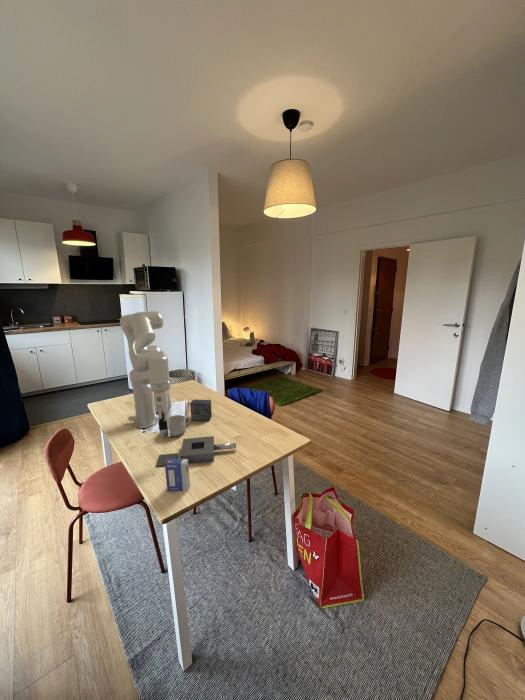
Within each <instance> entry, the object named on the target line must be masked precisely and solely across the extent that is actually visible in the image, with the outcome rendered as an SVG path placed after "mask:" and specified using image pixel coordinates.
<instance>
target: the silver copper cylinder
mask: <svg viewBox="0 0 525 700" xmlns="http://www.w3.org/2000/svg"><path fill="white" fill-rule="evenodd" d="M162 413H163V412H162ZM162 417H164V415H162ZM169 417H170V416H169V413H168V414H167V415H166V420H167V430H159V434H160V438H161V439H167V438H169V437H171V436H170V425H169Z"/></svg>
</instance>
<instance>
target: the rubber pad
mask: <svg viewBox="0 0 525 700" xmlns="http://www.w3.org/2000/svg"><path fill="white" fill-rule="evenodd" d="M178 457H179V453H178V452H177V453H175V452H174V453H166V454H165V453H164V454H158V458H157V461H156V465H155V468H159V467H165V462H166V460H167V459H178Z"/></svg>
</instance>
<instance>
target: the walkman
mask: <svg viewBox="0 0 525 700" xmlns="http://www.w3.org/2000/svg"><path fill="white" fill-rule="evenodd" d="M164 469H165V471H164V472H165V479H166V489H167V492H188V491H189V489H190V488H191V480H190V479H191V478H190V465H189V464H188V459H180V458H177V459H167V460H166V462H165V466H164Z"/></svg>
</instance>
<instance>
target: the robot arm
mask: <svg viewBox="0 0 525 700" xmlns="http://www.w3.org/2000/svg"><path fill="white" fill-rule="evenodd" d="M119 324H120V327H121V330H122V332H123V334H124V336H125V338H126V340H127V341H126V342H127V347H128V356H129V360H130V364H131V366H132V369H131V370H130V372H129V374H128V375H129V380H130V383H131V388H132V393H133V394H132V395H133V401H134V409H135V410H134V411H135V415H133V416H128V417H127V419H128V421H129V422H133V426H134V427H135V428H138V429H144V428H145V429H146V428H150V427H153V426H155V425H157V423H158V429H159V431H160V430H167V420H166V415H167V414H169V413H170V411H171V407H172V402H171V394H170V393H171V392H170V390H171V380H170V379H171V377H170V367H169V366H170V365H169V358H168V354H166V352H165V351H162V349H161V347H159V345H153V343H154V341H155V340H156V333H155V330H159V329H162V328H163V326H164V317H163V316H162V314H161V312H159V311H155V310H154V311H153V310H151V311H138V312H134V313H130V314H124V315H122V316H121V317H120V318H119ZM151 344H152V345H151ZM148 385H150V387H149V386H148ZM162 412H163V413H162ZM162 415H164V417H162Z"/></svg>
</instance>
